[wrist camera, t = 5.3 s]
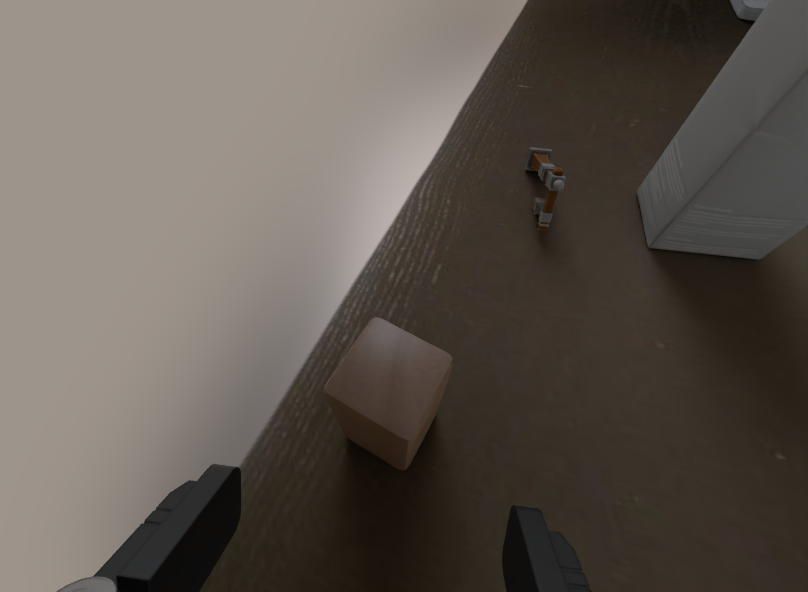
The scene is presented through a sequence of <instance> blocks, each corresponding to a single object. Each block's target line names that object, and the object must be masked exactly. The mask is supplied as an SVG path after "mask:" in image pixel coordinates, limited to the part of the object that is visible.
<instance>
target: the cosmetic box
mask: <svg viewBox="0 0 808 592" xmlns="http://www.w3.org/2000/svg"><path fill="white" fill-rule="evenodd" d="M637 195H638V200H639V204H640V209H641V214H642V219H643V225H644V231H645V235H646V240H647V244H648V247H649V248H655V249H665V250H674V251H683V252H693V253H702V254H712V255H721V256H731V257H740V258H749V259H762V258H763V257H765V256H766V255H767V254H769V253H770V252H771V251H773V250H774V249H776V248H777V247H778V246H780V245H781V244H783V243H784V242H786V241H787V240H788V239H790V238H791V237H792V236H794V235H795V234H797V233H798V232H799V231H801V230H802V229H803V228H805V227H806V226H808V0H770V2H769V3H768V4H767V6H766V7H765V9H764V10H763V12H762V13H761V14H760V16H759V17H758V19H757V20H756V21H755V23H754V24H753V26H752V27H751V28H750V30H749V31H748V33H747V34H746V36H745V37H744V38H743V40H742V41H741V43H740V44H739V46H738V47H737V48H736V50H735V51H734V53H733V54H732V56H731V57H730V58H729V60H728V61H727V63H726V64H725V66H724V67H723V68H722V70H721V71H720V73H719V74H718V75H717V77H716V78H715V80H714V81H713V83H712V84H711V85H710V87H709V88H708V90H707V91H706V93H705V94H704V95H703V97H702V98H701V100H700V101H699V103H698V104H697V105H696V107H695V108H694V110H693V111H692V112H691V114H690V115H689V117H688V118H687V120H686V121H685V122H684V124H683V125H682V127H681V128H680V130H679V131H678V132H677V134H676V135H675V137H674V138H673V139H672V141H671V142H670V144H669V145H668V147H667V148H666V150H665V151H664V152H663V154H662V155H661V157H660V158H659V160H658V161H657V163H656V164H655V165H654V167H653V168H652V170H651V171H650V172H649V174H648V175H647V177H646V178H645V180H644V181H643V182H642V184H641V185H640V187H639V188H638V190H637Z"/></svg>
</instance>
